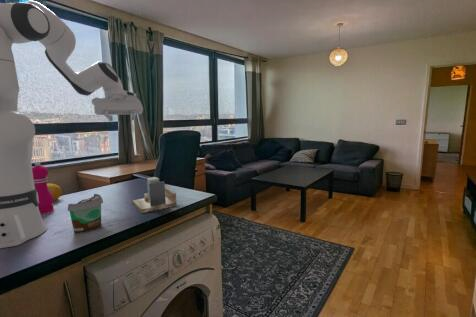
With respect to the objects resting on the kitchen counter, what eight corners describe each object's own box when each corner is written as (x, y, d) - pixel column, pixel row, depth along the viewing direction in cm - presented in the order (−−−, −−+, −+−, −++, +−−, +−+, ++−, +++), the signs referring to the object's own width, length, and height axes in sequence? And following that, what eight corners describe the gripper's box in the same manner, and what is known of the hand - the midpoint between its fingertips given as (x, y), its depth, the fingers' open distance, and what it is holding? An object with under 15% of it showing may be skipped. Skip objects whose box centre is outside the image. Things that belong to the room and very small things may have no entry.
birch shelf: (141, 213, 103) (140, 199, 103) (132, 203, 115) (131, 191, 114) (176, 205, 111) (175, 192, 110) (165, 197, 123) (164, 185, 122)
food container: (87, 236, 84) (83, 205, 83) (70, 235, 85) (66, 204, 84) (113, 221, 96) (110, 194, 95) (97, 220, 97) (95, 193, 96)
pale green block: (151, 204, 109) (150, 180, 107) (148, 201, 113) (146, 178, 111) (160, 202, 111) (159, 178, 109) (157, 199, 115) (155, 176, 113)
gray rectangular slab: (150, 206, 106) (149, 184, 105) (150, 205, 107) (148, 183, 106) (165, 203, 110) (164, 181, 108) (164, 202, 111) (163, 181, 109)
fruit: (52, 197, 126) (50, 181, 125) (66, 198, 124) (64, 181, 123) (34, 203, 118) (31, 185, 117) (48, 205, 116) (45, 186, 114)
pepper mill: (37, 209, 110) (30, 161, 107) (57, 207, 112) (51, 159, 109) (29, 215, 103) (22, 164, 100) (51, 213, 105) (44, 162, 102)
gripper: (90, 92, 118) (96, 114, 111) (139, 93, 129) (146, 114, 123) (90, 103, 122) (95, 125, 116) (137, 103, 133) (144, 123, 127)
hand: (122, 119), depth 119 cm, fingers open, 8 cm apart
